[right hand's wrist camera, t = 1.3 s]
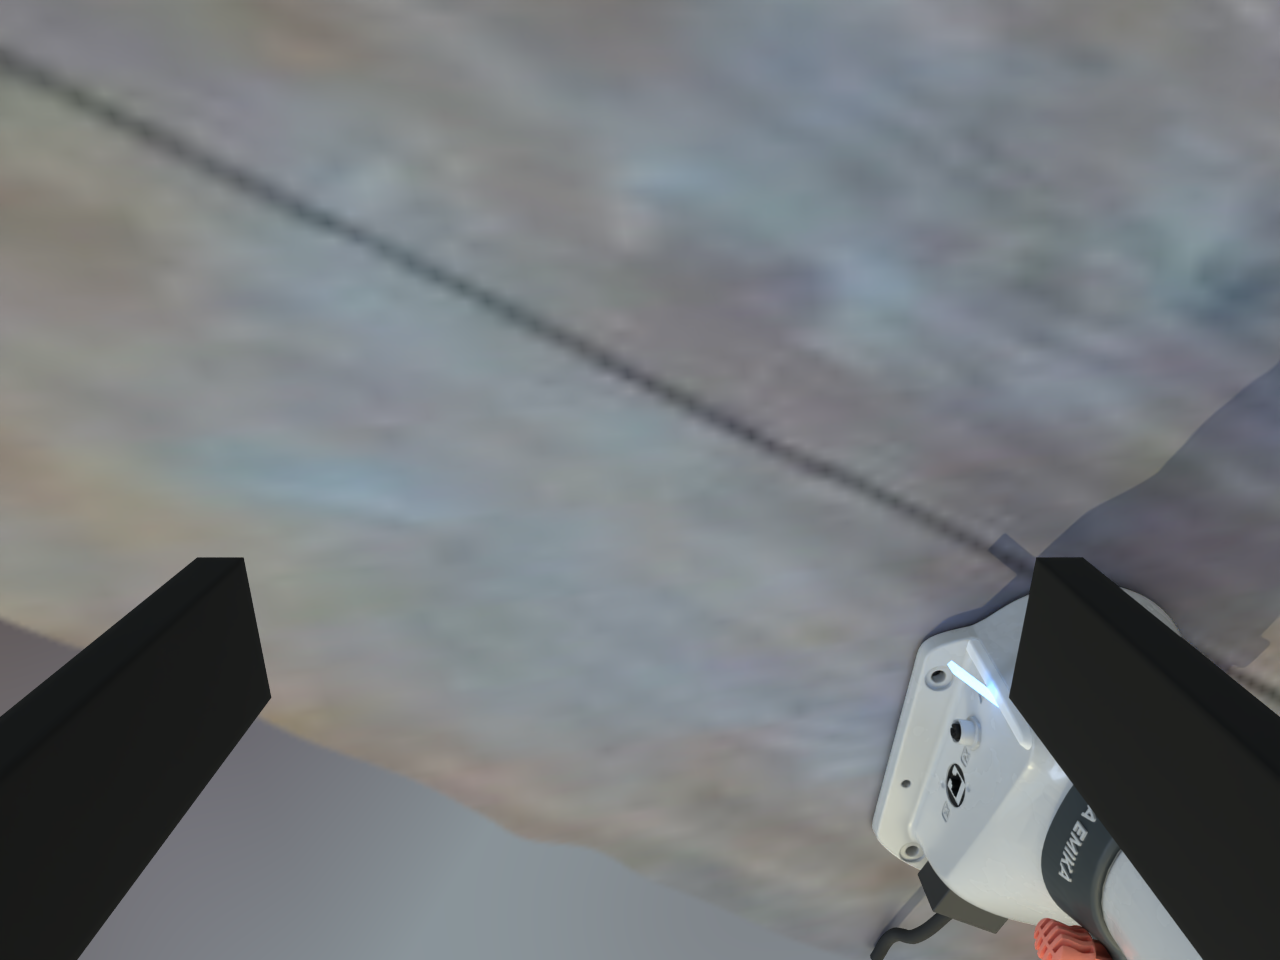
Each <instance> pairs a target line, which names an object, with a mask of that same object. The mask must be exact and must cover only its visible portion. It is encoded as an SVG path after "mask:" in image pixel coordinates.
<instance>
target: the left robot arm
mask: <svg viewBox="0 0 1280 960" xmlns="http://www.w3.org/2000/svg"><path fill="white" fill-rule="evenodd" d="M1120 588H1121V589H1122V590H1123V591H1125V592H1126V593H1127V594H1128V595H1130V596H1131V597H1132V598H1133V599H1135V600H1136V601H1137V602H1138V603H1140V604H1141V605H1142V606H1143V607H1144V608H1146V609H1147V610H1148V611H1149V612H1151V613H1152V614H1153V615H1154V616H1156V617H1157V618H1158V619H1159V620H1161V621H1162V622H1163V623H1164V624H1165V625H1167V626H1168V627H1169V628H1170V629H1172V630H1173V631H1174V632H1175V633H1177V634H1178V635H1179V636H1180V637H1181V635H1180V633H1179V631H1178V629H1177V627H1176V626H1175V624H1174V622H1173V621H1172V620H1171V618H1170V617H1169V616H1168V615H1167V614H1166V613H1165V611H1163V610H1162V609H1161V608H1160V607H1159V606H1158V605H1156V604H1155V603H1154V602H1153V601H1151V600H1149V599H1148V598H1146V597H1144V596H1142V595H1140V594H1138V593H1136V592H1134V591H1131V590H1128V589H1125V588H1122V587H1120ZM1028 598H1029V595H1027V596H1024V597H1022V598H1020V599H1018V600H1016V601H1013V602H1012V603H1010V604H1008V605H1006V606H1005V607H1003V608H1001V609H1000V610H998V611H997V612H995V613H993V614H992V615H990V616H989V617H987V618H985V619H984V620H982V621H980V622H978V623H976V624H974V625H972V626H967V627H963V628H958V629H954V630H950V631H946V632H943V633H940V634H937V635H934V636H932V637H930V638H928V639H927V640H926V641H924V642H923V643H922V645H921V646H920V648H919V650H918V652H917V656H916V660H915V663H914V667H913V671H912V675H911V678H910V682H909V686H908V690H907V693H906V697H905V701H904V705H903V708H902V712H901V716H900V719H899V723H898V727H897V731H896V734H895V738H894V742H893V746H892V749H891V753H890V757H889V761H888V764H887V768H886V772H885V776H884V779H883V783H882V787H881V791H880V794H879V798H878V802H877V805H876V809H875V813H874V817H873V823H872V829H873V831H874V833H875V835H876V837H877V839H878V840H879V842H880V843H881V844H882V845H883V846H884V847H885V848H886V849H887V850H888V851H889V852H890V853H892V854H893V855H894V856H896V857H897V858H899V859H900V860H902V861H903V862H905V863H907V864H909V865H911V866H913V867H915V868H917V869H919V870H920V872H919V873H918V876H919V879H920V881H921V884H922V886H923V889H924V891H925V893H926V896H927V898H928V901H929V903H930V906H931V908H932V910H933V912H936V914H935V915H934V916H933V917H931V918H930V919H929V920H928V921H927V922H925V923H924V924H922V925H921V926H919V927H917V928H915V929H912V930H906V929H902V928H892V929H890V930H888V931H887V932H886V933H885V934H884V935H883V936H882V937H881V938H880V940H879V941H878V943H877V945H876V947H875V948H874V950H873V952H872V953H871V955H870V957H871V959H872V960H883V959H884V957H885V955H886V954H887V952H888V950H889V948H890V947H891V946H892V944H893V943H895V942H897V941H901V942H904V943H909V944H916V943H919V942H922V941H924V940H926V939H928V938H929V937H931V936H932V935H934V934H935V933H936V932H937V931H939V930H940V929H941V928H942V927H943V926H944V925H946V924H947V923H948V922H949V921H950V920H951V919H952V918H953V919H955V920H958V921H961V922H964V923H967V924H969V925H972V926H975V927H978V928H981V929H984V930H986V931H989V932H992V933H997V932H998V931H999V929H1000V928H1001V927H1002V926H1003V925H1004V923H1005V922H1006V921H1007V920H1008V919H1012V920H1015V921H1019V922H1023V923H1028V924H1032V925H1037V926H1036V929H1035V933H1034V938H1035V939H1036V941H1035V949H1036V950H1038V956H1039V958H1042V960H1203V959H1202V958H1201V957H1200V955H1199V954H1198V953H1197V951H1196V950H1195V948H1194V947H1193V946H1192V944H1191V943H1190V942H1189V940H1188V939H1187V938H1186V936H1185V935H1184V934H1183V932H1182V931H1181V930H1180V928H1179V927H1178V926H1177V924H1176V923H1175V921H1174V920H1173V919H1172V917H1171V916H1170V915H1169V913H1168V912H1167V911H1166V909H1165V908H1164V907H1163V905H1162V904H1161V903H1160V901H1159V900H1158V899H1157V897H1156V896H1155V894H1154V893H1153V892H1152V890H1151V889H1150V888H1149V886H1148V885H1147V884H1146V882H1145V881H1144V880H1143V878H1142V877H1141V876H1140V874H1139V873H1138V871H1137V870H1136V869H1135V867H1134V866H1133V865H1132V863H1131V862H1130V861H1129V859H1128V858H1127V857H1126V855H1125V854H1124V853H1123V851H1122V850H1121V849H1120V847H1119V846H1118V844H1117V843H1116V842H1115V840H1114V839H1113V838H1112V836H1111V835H1110V834H1109V832H1108V831H1107V830H1106V828H1105V827H1104V826H1103V824H1102V823H1101V822H1100V820H1099V819H1098V817H1097V816H1096V815H1095V813H1094V812H1093V811H1092V809H1091V808H1090V807H1089V805H1088V804H1087V803H1086V801H1085V800H1084V799H1083V797H1082V796H1081V794H1080V793H1079V792H1078V790H1077V789H1076V788H1075V786H1074V785H1073V784H1072V782H1071V781H1070V780H1069V778H1068V777H1067V776H1066V774H1065V773H1064V772H1063V770H1062V769H1061V767H1060V766H1059V765H1058V763H1057V762H1056V761H1055V759H1054V758H1053V757H1052V755H1051V754H1050V753H1049V751H1048V750H1047V749H1046V747H1045V746H1044V745H1043V743H1042V742H1041V740H1040V739H1039V738H1038V736H1037V735H1036V734H1035V732H1034V731H1033V730H1032V728H1031V727H1030V726H1029V724H1028V723H1027V722H1026V720H1025V719H1024V717H1023V716H1022V715H1021V713H1020V712H1019V711H1018V709H1017V708H1016V707H1015V705H1014V704H1013V703H1012V701H1011V700H1010V699H1009V694H1010V689H1011V684H1012V679H1013V673H1014V668H1015V663H1016V658H1017V653H1018V648H1019V643H1020V638H1021V633H1022V628H1023V623H1024V618H1025V613H1026V608H1027V603H1028ZM938 670H941V672H940V673H939V674H938V675H935V676H932V674H933V673H934V672H935V671H938ZM910 846H911V847H910ZM1089 933H1090V934H1091V935H1090V934H1089ZM1091 936H1092V937H1091ZM1092 938H1093V939H1092Z"/></svg>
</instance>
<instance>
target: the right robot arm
mask: <svg viewBox="0 0 1280 960" xmlns="http://www.w3.org/2000/svg"><path fill="white" fill-rule="evenodd" d="M270 699H271V694H270V689H269V684H268V679H267V673H266V668H265V663H264V658H263V653H262V648H261V643H260V638H259V633H258V628H257V623H256V618H255V613H254V608H253V603H252V598H251V593H250V588H249V583H248V577H247V572H246V567H245V562H244V558H196V559H195V560H194V561H192V562H191V563H190V564H189V565H187V566H186V567H185V568H184V569H183V570H181V571H180V572H179V573H178V574H176V575H175V576H174V577H173V578H171V579H170V580H169V581H168V582H166V583H165V584H164V585H163V586H161V587H160V588H159V589H158V590H157V591H155V592H154V593H153V594H152V595H150V596H149V597H148V598H147V599H145V600H144V601H143V602H142V603H140V604H139V605H138V606H137V607H136V608H134V609H133V610H132V611H131V612H129V613H128V614H127V615H126V616H124V617H123V618H122V619H121V620H119V621H118V622H117V623H116V624H115V625H113V626H112V627H111V628H110V629H108V630H107V631H106V632H105V633H103V634H102V635H101V636H100V637H98V638H97V639H96V640H95V641H94V642H92V643H91V644H90V645H89V646H87V647H86V648H85V649H84V650H82V651H81V652H80V653H79V654H77V655H76V656H75V657H74V658H73V659H71V660H70V661H69V662H68V663H66V664H65V665H64V666H63V667H61V668H60V669H59V670H58V671H56V672H55V673H54V674H53V675H51V676H50V677H49V678H48V679H47V680H45V681H44V682H43V683H42V684H40V685H39V686H38V687H37V688H35V689H34V690H33V691H32V692H30V693H29V694H28V695H27V696H26V697H24V698H23V699H22V700H21V701H19V702H18V703H17V704H16V705H14V706H13V707H12V708H11V709H9V710H8V711H7V712H6V713H5V714H3V715H2V716H1V717H0V960H77V959H78V958H79V957H80V955H81V954H82V953H83V951H84V950H85V948H86V947H87V946H88V944H89V943H90V942H91V940H92V939H93V938H94V936H95V935H96V934H97V932H98V931H99V930H100V928H101V927H102V926H103V924H104V923H105V921H106V920H107V919H108V917H109V916H110V915H111V913H112V912H113V911H114V909H115V908H116V907H117V905H118V904H119V903H120V901H121V900H122V898H123V897H124V896H125V894H126V893H127V892H128V890H129V889H130V888H131V886H132V885H133V884H134V882H135V881H136V880H137V878H138V877H139V876H140V874H141V873H142V871H143V870H144V869H145V867H146V866H147V865H148V863H149V862H150V861H151V859H152V858H153V857H154V855H155V854H156V853H157V851H158V850H159V848H160V847H161V846H162V844H163V843H164V842H165V840H166V839H167V838H168V836H169V835H170V834H171V832H172V831H173V830H174V828H175V827H176V826H177V824H178V823H179V822H180V820H181V819H182V817H183V816H184V815H185V813H186V812H187V811H188V809H189V808H190V807H191V805H192V804H193V803H194V801H195V800H196V799H197V797H198V796H199V794H200V793H201V792H202V790H203V789H204V788H205V786H206V785H207V784H208V782H209V781H210V780H211V778H212V777H213V776H214V774H215V773H216V771H217V770H218V769H219V767H220V766H221V765H222V763H223V762H224V761H225V759H226V758H227V757H228V755H229V754H230V752H231V751H232V750H233V749H234V747H235V746H236V744H237V743H238V742H239V740H240V739H241V738H242V736H243V735H244V734H245V732H246V731H247V730H248V728H249V727H250V726H251V724H252V723H253V721H254V720H255V719H256V717H257V716H258V715H259V713H260V712H261V711H262V709H263V708H264V707H265V705H266V704H267V703H268V701H269V700H270ZM1009 699H1010V700H1011V701H1012V703H1013V704H1014V705H1015V707H1016V708H1017V709H1018V711H1019V712H1020V713H1021V715H1022V716H1023V717H1024V719H1025V720H1026V722H1027V723H1028V724H1029V726H1030V727H1031V728H1032V730H1033V731H1034V732H1035V734H1036V735H1037V736H1038V738H1039V739H1040V740H1041V742H1042V743H1043V745H1044V746H1045V747H1046V749H1047V750H1048V751H1049V753H1050V754H1051V755H1052V757H1053V758H1054V759H1055V761H1056V762H1057V763H1058V765H1059V766H1060V767H1061V769H1062V770H1063V772H1064V773H1065V774H1066V776H1067V777H1068V778H1069V780H1070V781H1071V782H1072V784H1073V785H1074V786H1075V788H1076V789H1077V790H1078V792H1079V793H1080V794H1081V796H1082V797H1083V799H1084V800H1085V801H1086V803H1087V804H1088V805H1089V807H1090V808H1091V809H1092V811H1093V812H1094V813H1095V815H1096V816H1097V817H1098V819H1099V820H1100V822H1101V823H1102V824H1103V826H1104V827H1105V828H1106V830H1107V831H1108V832H1109V834H1110V835H1111V836H1112V838H1113V839H1114V840H1115V842H1116V843H1117V844H1118V846H1119V847H1120V849H1121V850H1122V851H1123V853H1124V854H1125V855H1126V857H1127V858H1128V859H1129V861H1130V862H1131V863H1132V865H1133V866H1134V867H1135V869H1136V870H1137V871H1138V873H1139V874H1140V876H1141V877H1142V878H1143V880H1144V881H1145V882H1146V884H1147V885H1148V886H1149V888H1150V889H1151V890H1152V892H1153V893H1154V894H1155V896H1156V897H1157V899H1158V900H1159V901H1160V903H1161V904H1162V905H1163V907H1164V908H1165V909H1166V911H1167V912H1168V913H1169V915H1170V916H1171V917H1172V919H1173V920H1174V921H1175V923H1176V924H1177V926H1178V927H1179V928H1180V930H1181V931H1182V932H1183V934H1184V935H1185V936H1186V938H1187V939H1188V940H1189V942H1190V943H1191V944H1192V946H1193V947H1194V948H1195V950H1196V951H1197V953H1198V954H1199V955H1200V957H1201V958H1202V959H1203V960H1280V717H1279V716H1278V715H1277V714H1275V713H1274V712H1273V711H1272V710H1271V709H1269V708H1268V707H1267V706H1266V705H1264V704H1263V703H1262V702H1261V701H1259V700H1258V699H1257V698H1256V697H1254V696H1253V695H1252V694H1251V693H1250V692H1248V691H1247V690H1246V689H1245V688H1243V687H1242V686H1241V685H1240V684H1238V683H1237V682H1236V681H1235V680H1233V679H1232V678H1231V677H1230V676H1229V675H1227V674H1226V673H1225V672H1224V671H1222V670H1221V669H1220V668H1219V667H1217V666H1216V665H1215V664H1214V663H1212V662H1211V661H1210V660H1209V659H1208V658H1206V657H1205V656H1204V655H1203V654H1201V653H1200V652H1199V651H1198V650H1196V649H1195V648H1194V647H1193V646H1191V645H1190V644H1189V643H1188V642H1186V641H1185V640H1184V639H1183V638H1182V637H1180V636H1179V635H1178V634H1177V633H1175V632H1174V631H1173V630H1172V629H1170V628H1169V627H1168V626H1167V625H1165V624H1164V623H1163V622H1162V621H1161V620H1159V619H1158V618H1157V617H1156V616H1154V615H1153V614H1152V613H1151V612H1149V611H1148V610H1147V609H1146V608H1144V607H1143V606H1142V605H1141V604H1140V603H1138V602H1137V601H1136V600H1135V599H1133V598H1132V597H1131V596H1130V595H1128V594H1127V593H1126V592H1125V591H1123V590H1122V589H1121V588H1120V587H1119V586H1117V585H1116V584H1115V583H1114V582H1112V581H1111V580H1110V579H1109V578H1107V577H1106V576H1105V575H1104V574H1102V573H1101V572H1100V571H1099V570H1097V569H1096V568H1095V567H1094V566H1093V565H1091V564H1090V563H1089V562H1088V561H1086V560H1085V559H1084V558H1036V562H1035V567H1034V572H1033V577H1032V583H1031V588H1030V593H1029V598H1028V603H1027V608H1026V613H1025V618H1024V623H1023V628H1022V633H1021V638H1020V643H1019V648H1018V653H1017V658H1016V663H1015V668H1014V673H1013V679H1012V684H1011V689H1010V694H1009Z"/></svg>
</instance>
